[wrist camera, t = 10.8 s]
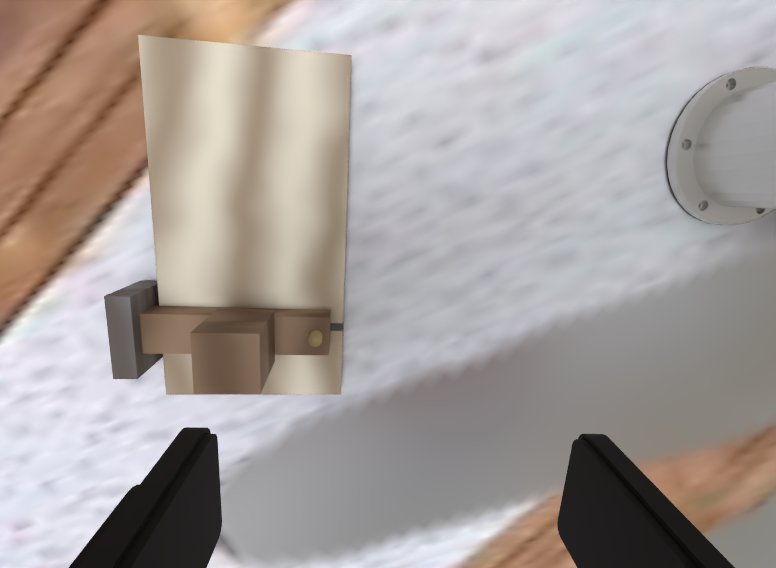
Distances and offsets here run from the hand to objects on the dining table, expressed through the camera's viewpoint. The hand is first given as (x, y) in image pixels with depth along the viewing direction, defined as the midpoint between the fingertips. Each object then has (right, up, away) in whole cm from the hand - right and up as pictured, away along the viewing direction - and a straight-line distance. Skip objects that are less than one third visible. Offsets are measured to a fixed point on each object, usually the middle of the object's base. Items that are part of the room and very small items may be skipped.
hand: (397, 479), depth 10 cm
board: (-11, +9, +21) cm, 25 cm away
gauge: (-12, +2, +22) cm, 25 cm away
